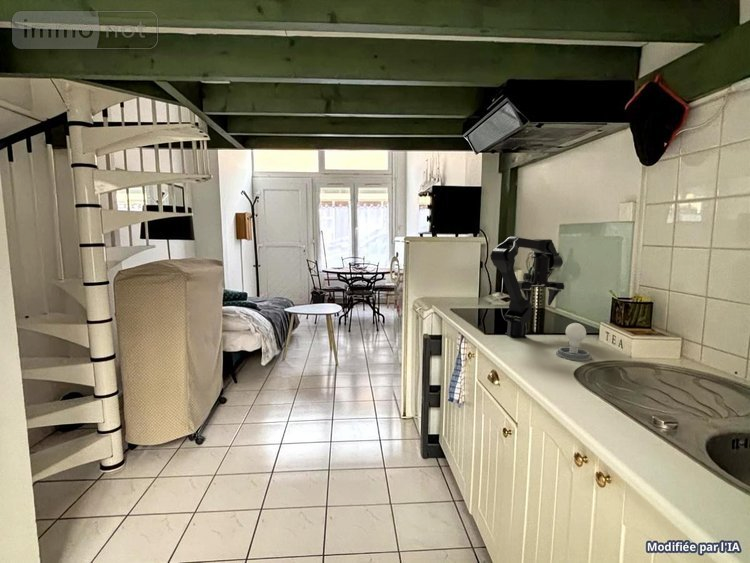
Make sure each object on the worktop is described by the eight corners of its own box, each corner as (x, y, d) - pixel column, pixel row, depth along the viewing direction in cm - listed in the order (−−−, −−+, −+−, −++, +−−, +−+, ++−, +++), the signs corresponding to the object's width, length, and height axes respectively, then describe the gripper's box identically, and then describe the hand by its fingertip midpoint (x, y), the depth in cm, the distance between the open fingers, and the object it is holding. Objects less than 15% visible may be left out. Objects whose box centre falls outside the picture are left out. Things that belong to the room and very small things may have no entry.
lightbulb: (587, 357, 135) (590, 325, 134) (568, 356, 135) (571, 324, 134) (578, 351, 142) (581, 321, 140) (560, 350, 142) (563, 320, 140)
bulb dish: (566, 361, 132) (567, 355, 132) (549, 351, 143) (550, 346, 143) (598, 361, 133) (598, 355, 133) (578, 351, 144) (579, 346, 144)
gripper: (552, 267, 177) (549, 302, 179) (512, 266, 175) (509, 301, 177) (566, 269, 166) (563, 306, 168) (523, 269, 164) (520, 306, 166)
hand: (538, 305), depth 170 cm, fingers open, 9 cm apart
